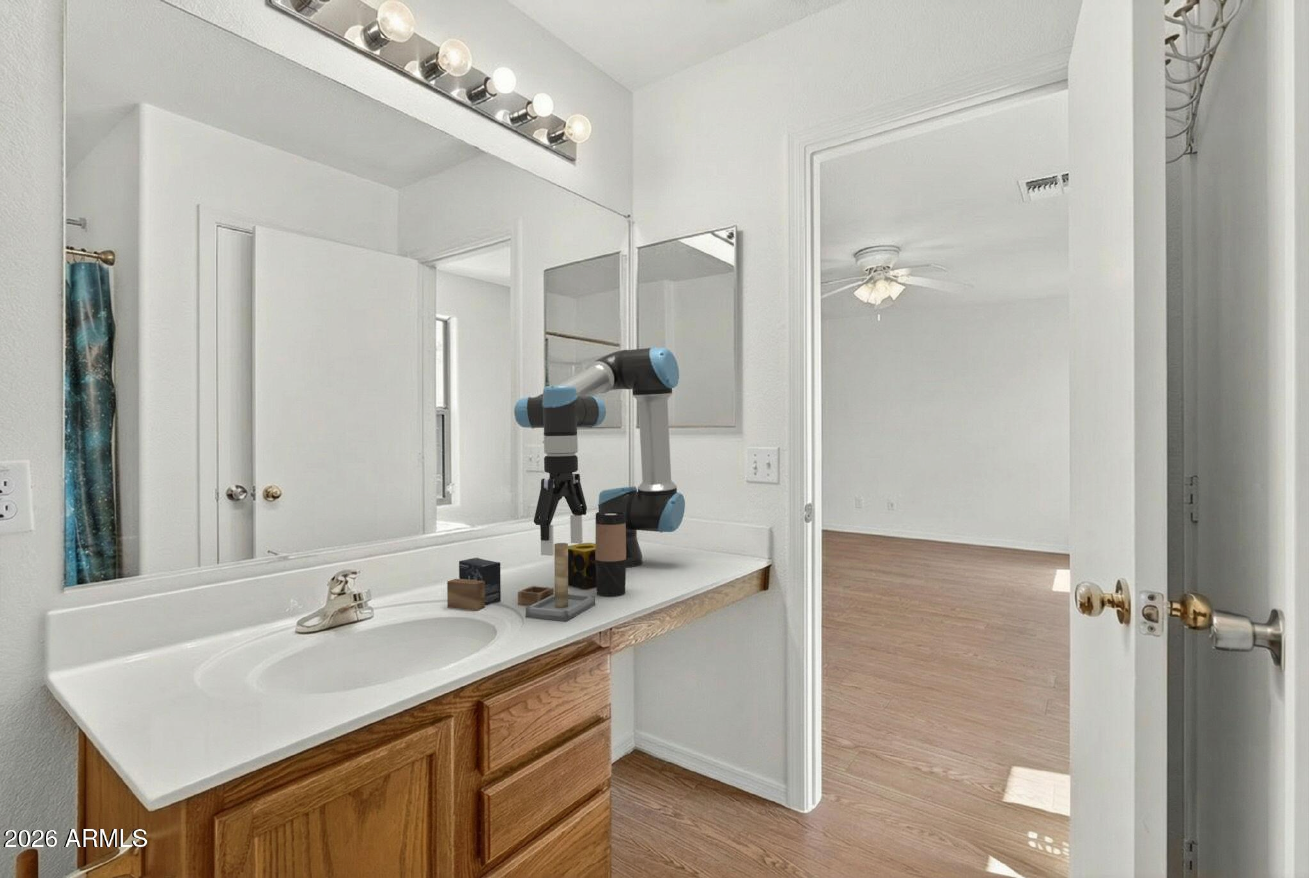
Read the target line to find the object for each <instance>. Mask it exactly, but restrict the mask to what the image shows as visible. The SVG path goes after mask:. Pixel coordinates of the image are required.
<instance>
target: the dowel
mask: <svg viewBox="0 0 1309 878" xmlns="http://www.w3.org/2000/svg"><path fill="white" fill-rule="evenodd" d="M568 546H569V543H568V542H567V543H566V542H557V543H556V542H555V543H554V555H553V556H554V561H553V562H554V594H555V607H556V608H566V607H568V594H569V585H568Z"/></svg>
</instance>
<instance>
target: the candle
mask: <svg viewBox="0 0 1309 878" xmlns="http://www.w3.org/2000/svg"><path fill="white" fill-rule="evenodd" d="M595 560H596V559H595V543H594V542H584V543H581V544H579V543H575V544H571V545H568V587H569V586H570V587H572V588H579V589H580V590H590V589H591V590H592V589H595V588H596V562H595Z"/></svg>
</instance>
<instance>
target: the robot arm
mask: <svg viewBox="0 0 1309 878" xmlns="http://www.w3.org/2000/svg"><path fill="white" fill-rule="evenodd" d="M679 379H680V370H679V364H678V362H677V359H676V357H675V355H674V353H673V352H672V351H671V350H670V349H669V348H666V347H648V348H646V347H645V348H637V349H636V348H635V349H623V350H617V351H614V352H611V353H609V354H606V355H604V356H601V357H600V358H598V359H596V360H594V361H593V362H591V363H589V364H588V365H587V366H586V368H585V370H583V371H581V372H579V373H578V374H576V375H574V376H572V377H571V378H569V379H566V380H565V381H564V382H562V383H560V384H557V385H548V386H545V387H544V389H543V392H542V393H541V394H539V395H537V396H534V397H530V396H528V397H524V398H520V399H518V400H517V401H516V404H515V406H514V412H513V414H514V418H515V422H516V423H517V425H519V426H520V427H521V428H525V429H527V428H530V429H543V441H542V443H543V453H544V454H546V455H545V456H544V457H543V471H544V472H545V473H546V474H547V473H548V474H549V478H541V480H540V490H539V496H538V499H537V504H536V508H535V513H534V518H533V523H534V524H535V525H536V526H539V527H540V556H548V557H549V556H552V557H553V556H554V544H555V543H554V524H552V522H553V519H554V517H555V513H556V510H557V507H558V504H559V502H560V500H562V499H563V498H564V499H565V501H566V502H567V506H568V507H569V509H570V512H571V515H569V517H570V518H569V519H570V521H569V522H570V524H569V525H570V544H582V543H583V516H586V515H587V510H588V508H587V506H588V505H587V502H586V498H585V496H584V491H583V487H582V484H581V475H580V473H576V472H578V470H579V458H578V456H577V455H576V454H577V453H578V451H579V449H578V444H579V442H578V428H580V429H581V428H586V429H587V428H589V429H591V428H594V427H597V426H599V425H601V424H602V423H603V422H604V420H605V419H606V417H607V416H606V414H607V409H606V405H605V403H604V401H602V399H601V398H599V397H596V396H597V395H599V394H607V393H608V392H610V391H615V390H616V391H617V390H632V396H633V398H635V400H636V401H637V402H638V404H637V405H638V406H637V407H638V421H639V423H638V425H639V440H640V442H639V443H640V457H641V458H640V462H641V478H642V479H641V481H642V482H641V483H640V484H639V485H638V487H637V486H624V487H618V488H609V489H604V490H602V491H600V492H599V495H598V504H597V506H598V512H600V514H606V513H607V512H609V511H619V512H625V514H626V568H631V567H636V566H640V565H642V564H643V553H642V549H641V547H640V544H639V541H638V538H637V533H638V531H645V532H658V533H673V532H675V531H676V530H677V529H679V527H680V526H681V524H682V522H683V518H684V514H685V509H686V501H685V498H684V497H685V496H684V495H683V494H682V493H681V492H678V487H677V484H676V483H675V482H673V481H672V467H671V466H672V465H671V447H670V425H669V408H668V407H669V406H668V405H669V404H668V401H669V399H670V397H671V396H672V395H673V389H674V388H676V387H677V386H678V384H679Z"/></svg>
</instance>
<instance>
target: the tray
mask: <svg viewBox="0 0 1309 878" xmlns="http://www.w3.org/2000/svg"><path fill="white" fill-rule="evenodd" d="M594 606H596V596H595V595H587V594H576V593H568V607H566V608H556V607H555V593H554V594H553V595H551V596H549V597H547V598H545V599H543V600H541V601H539V602H537V603H535V604H533V605H530V606H526V607H525V618H528V619H529V618H532V619H540V620H549V621H557V622H565V623H566V622H569V621H570V620H571V619H574V618H575V617H577V616H579V615H580V614H583V612H586V611H588V610H589V609H591V608H592V607H594Z"/></svg>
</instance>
